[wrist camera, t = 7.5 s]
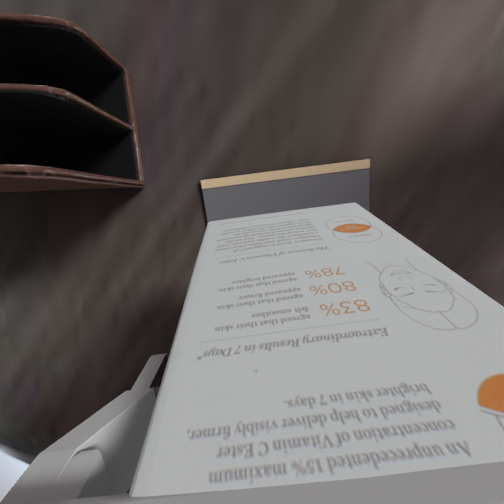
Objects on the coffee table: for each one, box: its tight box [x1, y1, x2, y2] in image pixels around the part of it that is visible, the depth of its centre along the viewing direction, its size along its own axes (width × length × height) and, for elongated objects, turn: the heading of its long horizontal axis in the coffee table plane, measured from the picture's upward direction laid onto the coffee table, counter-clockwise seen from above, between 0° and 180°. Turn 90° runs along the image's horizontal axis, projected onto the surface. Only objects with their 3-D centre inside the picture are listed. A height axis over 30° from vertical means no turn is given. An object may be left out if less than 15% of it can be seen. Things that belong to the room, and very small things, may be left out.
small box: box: [129, 203, 504, 497], centre depth 9 cm, size 8×6×13 cm
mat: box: [201, 159, 370, 222], centre depth 26 cm, size 16×14×1 cm
